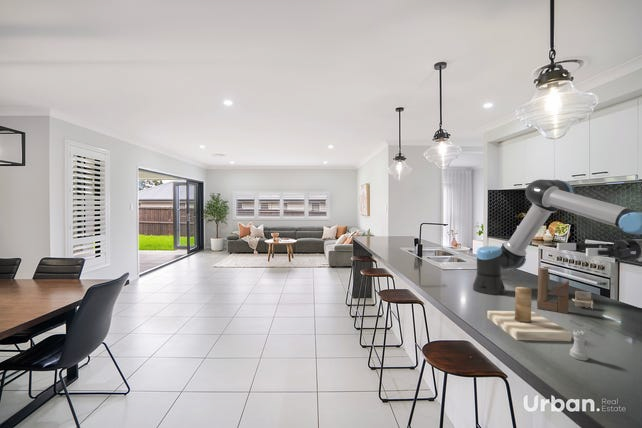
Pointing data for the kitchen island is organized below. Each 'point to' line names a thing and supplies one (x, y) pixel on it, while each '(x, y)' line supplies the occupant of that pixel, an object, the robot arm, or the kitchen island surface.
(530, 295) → the oak leg
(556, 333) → the birch board
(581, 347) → the rook chess piece
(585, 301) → the architectural model
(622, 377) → the kitchen island surface
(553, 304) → the wooden post with wedge
